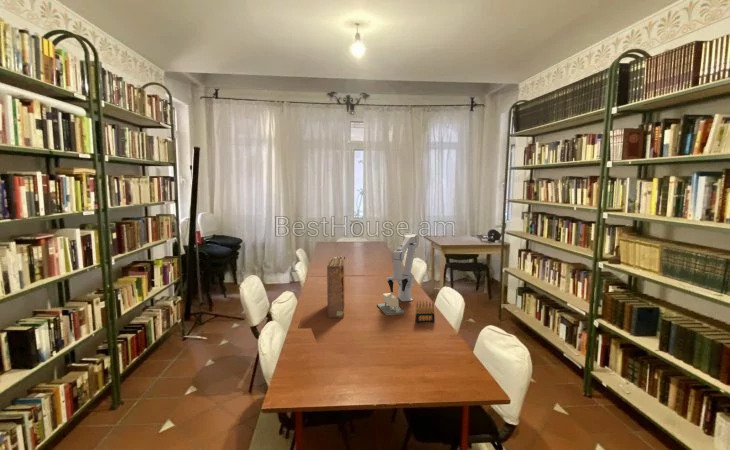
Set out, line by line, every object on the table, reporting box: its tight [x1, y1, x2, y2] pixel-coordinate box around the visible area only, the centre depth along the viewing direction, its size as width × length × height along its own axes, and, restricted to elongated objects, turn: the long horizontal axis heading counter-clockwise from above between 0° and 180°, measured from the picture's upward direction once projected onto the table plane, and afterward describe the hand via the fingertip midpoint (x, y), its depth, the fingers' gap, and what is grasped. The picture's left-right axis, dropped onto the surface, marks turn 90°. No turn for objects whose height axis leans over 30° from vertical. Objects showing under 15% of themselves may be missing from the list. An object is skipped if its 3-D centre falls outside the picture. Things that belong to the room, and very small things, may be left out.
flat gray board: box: [376, 302, 405, 316], centre depth 230 cm, size 18×11×4 cm, turn 16°
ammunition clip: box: [414, 300, 436, 324], centre depth 210 cm, size 11×2×12 cm, turn 94°
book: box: [326, 257, 346, 319], centre depth 227 cm, size 25×9×30 cm, turn 2°
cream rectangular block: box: [382, 292, 400, 307], centre depth 229 cm, size 14×5×4 cm, turn 16°
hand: (397, 291), depth 236 cm, fingers open, 7 cm apart
